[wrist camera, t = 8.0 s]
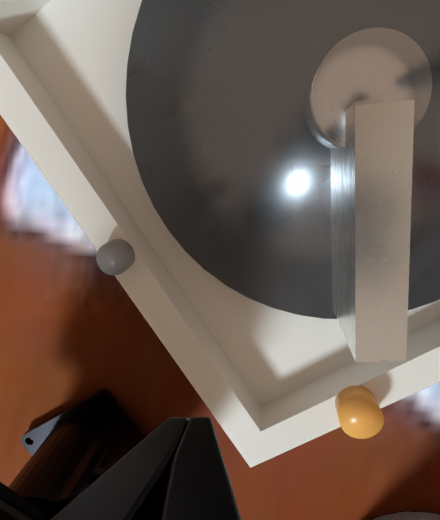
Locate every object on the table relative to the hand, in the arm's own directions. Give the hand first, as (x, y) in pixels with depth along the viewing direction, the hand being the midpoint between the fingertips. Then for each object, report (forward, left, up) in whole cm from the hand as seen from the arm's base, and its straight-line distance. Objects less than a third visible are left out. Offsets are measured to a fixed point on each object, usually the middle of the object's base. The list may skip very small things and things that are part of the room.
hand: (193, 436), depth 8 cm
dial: (+8, +4, -11) cm, 14 cm away
